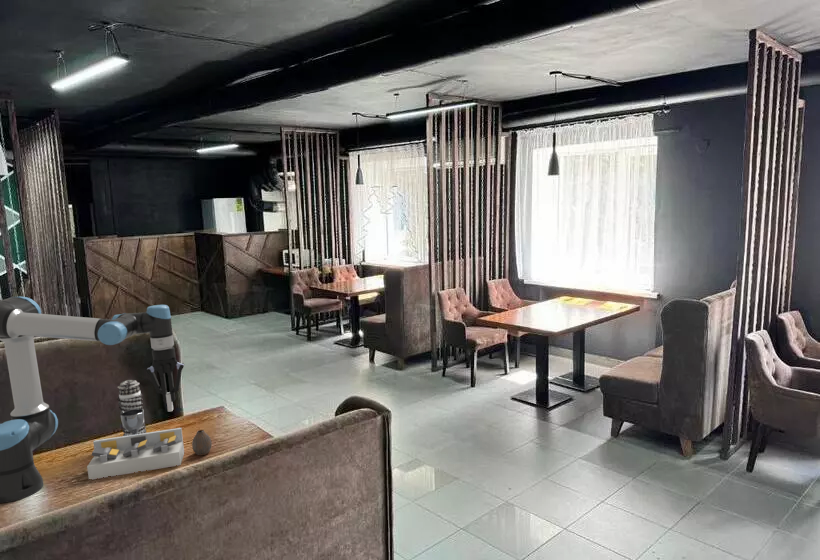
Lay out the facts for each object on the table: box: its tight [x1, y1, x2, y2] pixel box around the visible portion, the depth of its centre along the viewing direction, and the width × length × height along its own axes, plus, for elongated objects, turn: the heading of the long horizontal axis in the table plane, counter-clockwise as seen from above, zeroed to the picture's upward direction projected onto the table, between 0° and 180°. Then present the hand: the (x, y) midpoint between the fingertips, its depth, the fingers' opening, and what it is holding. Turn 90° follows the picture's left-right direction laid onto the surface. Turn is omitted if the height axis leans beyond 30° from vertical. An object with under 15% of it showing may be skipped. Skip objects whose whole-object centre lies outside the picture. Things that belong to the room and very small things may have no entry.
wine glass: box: [120, 408, 145, 435], centre depth 219 cm, size 8×8×15 cm
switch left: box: [91, 447, 120, 459], centre depth 201 cm, size 8×5×2 cm, turn 105°
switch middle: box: [123, 440, 149, 457], centre depth 203 cm, size 8×5×2 cm, turn 105°
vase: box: [191, 429, 213, 456], centre depth 212 cm, size 7×7×9 cm
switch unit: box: [86, 427, 185, 480], centre depth 204 cm, size 30×11×10 cm, turn 105°
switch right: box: [153, 435, 178, 452], centre depth 206 cm, size 8×5×2 cm, turn 105°
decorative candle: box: [117, 379, 147, 436], centre depth 227 cm, size 9×9×25 cm
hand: (170, 410), depth 205 cm, fingers closed
